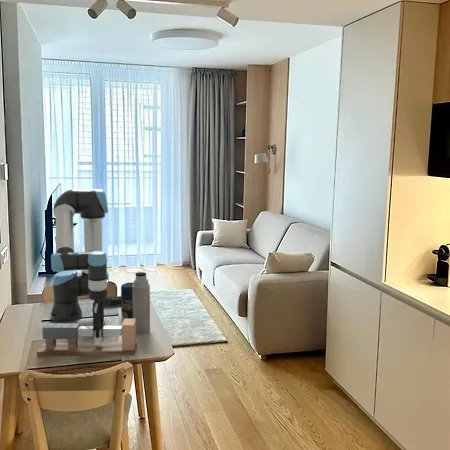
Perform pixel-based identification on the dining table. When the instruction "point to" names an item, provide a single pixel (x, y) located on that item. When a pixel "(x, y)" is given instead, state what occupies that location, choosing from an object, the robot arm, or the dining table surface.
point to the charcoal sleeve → (60, 331)
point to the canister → (127, 301)
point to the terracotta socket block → (128, 334)
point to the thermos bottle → (141, 303)
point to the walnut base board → (82, 349)
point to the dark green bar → (112, 301)
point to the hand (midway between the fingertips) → (99, 341)
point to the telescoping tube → (104, 331)
